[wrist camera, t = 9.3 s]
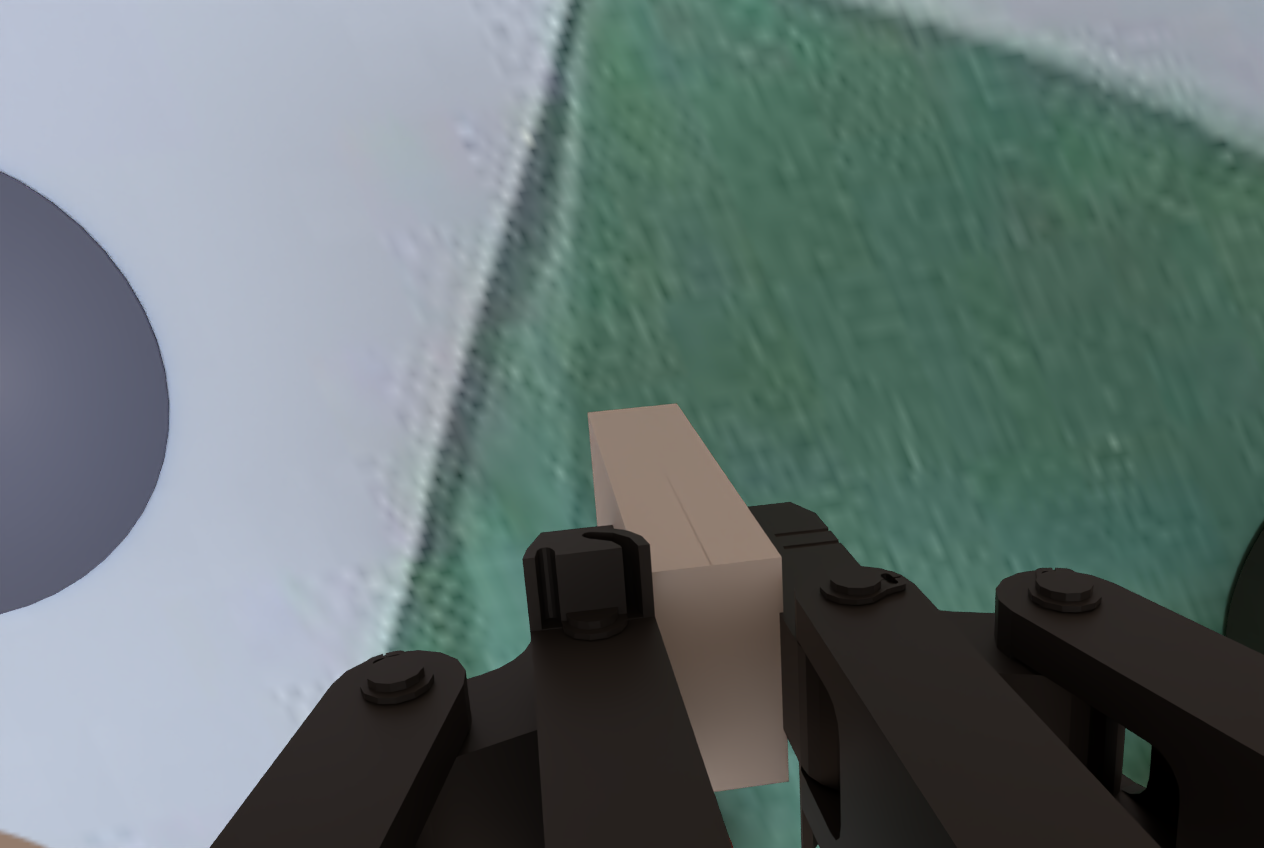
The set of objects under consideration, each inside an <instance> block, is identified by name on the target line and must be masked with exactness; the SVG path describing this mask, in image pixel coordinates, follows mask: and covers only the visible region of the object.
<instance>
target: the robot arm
mask: <svg viewBox="0 0 1264 848" xmlns="http://www.w3.org/2000/svg"><path fill="white" fill-rule="evenodd" d="M588 422H589V433H590V445H591V457H592V468H593V480H594V492H595V504H596V515H597V526H596V527H587V528H579V529H570V530H561V531H552V532H543V533H541V534H540V535H539V536H538V537H537V538H536V539H535V540H534V542H533V543H532V544H531V545H530V546H529V547H528V548H527V550H526V552H525V555H524V557H523V567H524V576H525V586H526V595H527V604H528V613H529V623H530V632H531V642H530V644H529V645H528V647H527V648H526V650H525V651H524V652H523V653H522V654H520V655H519V656H518V657H517V658H516V659H514V660H513V661H511V662H509V663H508V664H506V665H504V666H502V667H500V668H498V669H496V670H493V671H490V672H488V673H485V674H482V675H479V676H476V677H473V678H469V679H467V678H466V670H465V669H464V668H463V666H462V665H461V664H460V662H459V661H458V660H457V659H455V658H453V657H450V656H448V655H446V654H443V653H441V652H431V651H421V650H416V651H407V652H404V651H394V652H389V653H386V655H384V656H383V654H381V655H378V656H375V657H372V658H370V659H369V660H367V661H366V662H364V663H362V664H360V665H358V666H356V667H354V668H352V669H350V670H348V671H346V672H345V673H344V674H343V675H342V676H341V677H340V678H339V679H337V680H336V681H335V682H334V683H333V684H332V685H331V686H330V688H329V689H328V690H327V692H326V693H325V694H324V696H323V697H322V698H321V700H320V701H319V702H318V704H317V705H316V706H315V708H314V709H313V710H312V712H311V713H310V714H309V716H308V717H307V718H306V720H305V721H304V722H303V724H302V725H301V726H300V728H299V729H298V730H297V732H296V733H295V734H294V736H293V737H292V738H291V740H290V741H289V742H288V744H287V745H286V746H285V748H284V749H283V750H282V752H281V753H280V754H279V756H278V757H277V758H276V760H275V761H274V762H273V764H272V765H271V766H270V768H269V769H268V770H267V772H266V773H265V774H264V776H263V777H262V778H261V780H260V781H259V782H258V784H257V785H256V786H255V788H254V789H253V790H252V792H251V793H250V795H249V796H248V797H247V799H246V800H245V801H244V803H243V804H242V805H241V807H240V808H239V809H238V811H237V812H236V813H235V815H234V816H233V817H232V819H231V820H230V821H229V823H228V824H227V825H226V827H225V828H224V829H223V831H222V832H221V833H220V835H219V836H218V837H217V839H216V840H215V841H214V843H213V844H212V845H211V847H210V848H732V845H731V842H730V839H729V836H728V833H727V830H726V827H725V824H724V821H723V818H722V815H721V812H720V809H719V806H718V803H717V800H716V797H715V794H714V792H717V791H724V790H731V789H738V788H745V787H752V786H759V785H766V784H773V783H781V782H788V781H789V773H788V742H787V738H788V740H789V742H790V744H791V746H792V748H793V750H794V752H795V754H796V756H797V758H798V761H799V775H800V810H801V845H802V848H816V846H817V845H819V847H820V848H1264V529H1263V531H1262V532H1261V534H1260V536H1259V537H1258V539H1257V541H1256V542H1255V544H1254V546H1253V548H1252V550H1251V552H1250V554H1249V556H1248V557H1247V560H1246V562H1245V564H1244V566H1243V569H1242V571H1241V573H1240V576H1239V579H1238V582H1237V584H1236V587H1235V591H1234V594H1233V598H1232V601H1231V605H1230V610H1229V615H1228V621H1227V628H1226V637H1225V636H1223V635H1221V634H1219V633H1217V632H1215V631H1213V630H1211V629H1209V628H1206V627H1204V626H1202V625H1200V624H1198V623H1196V622H1194V621H1192V620H1190V619H1188V618H1186V617H1183V616H1181V615H1179V614H1177V613H1175V612H1173V611H1171V610H1169V609H1167V608H1165V607H1163V606H1160V605H1158V604H1156V603H1154V602H1152V601H1150V600H1148V599H1146V598H1144V597H1142V596H1140V595H1137V594H1135V593H1133V592H1131V591H1129V590H1127V589H1125V588H1123V587H1121V586H1119V585H1117V584H1114V583H1112V582H1109V581H1106V580H1104V579H1101V578H1098V577H1095V576H1092V575H1088V574H1082V573H1077V572H1074V571H1073V570H1071V569H1065V568H1055V570H1053V569H1052V568H1039V569H1037V570H1036V571H1029V572H1022V573H1017V574H1015V575H1012V576H1010V577H1008V578H1005V579H1003V580H1002V581H1001V583H1000V584H999V585H998V587H997V588H996V597H995V613H975V612H952V611H941V610H938V609H937V608H936V607H935V605H934V604H933V603H932V602H931V601H930V600H929V599H928V598H927V597H926V596H925V595H924V594H923V593H922V592H921V591H920V589H919V588H918V587H917V586H916V585H915V584H914V583H912V582H911V581H909V580H908V579H906V578H905V577H903V576H902V575H900V574H897V573H895V572H893V571H887V570H884V569H880V568H872V567H864V566H860V565H859V563H858V562H857V561H856V560H855V559H854V558H853V556H852V555H851V554H850V553H849V552H848V551H847V549H846V548H845V547H844V546H843V545H842V544H841V543H839V542H838V539H837V538H836V537H835V535H834V534H833V533H832V532H831V531H828V527H827V526H826V525H825V524H824V523H823V521H822V520H821V519H820V518H819V517H818V516H817V514H816V513H814V512H812V511H809V510H807V509H805V508H803V507H800V506H798V505H796V504H794V503H791V502H785V503H776V504H767V505H758V506H750V507H747V506H746V504H745V503H744V501H743V500H742V498H741V497H740V495H739V494H738V492H737V491H736V490H735V488H734V487H733V485H732V484H731V482H730V481H729V479H728V478H727V476H726V475H725V473H724V472H723V471H722V469H721V468H720V466H719V465H718V463H717V462H716V460H715V459H714V457H713V456H712V454H711V453H710V451H709V450H708V449H707V447H706V446H705V444H704V443H703V441H702V440H701V438H700V437H699V435H698V434H697V432H696V431H695V429H694V428H693V427H692V425H691V424H690V422H689V421H688V419H687V418H686V416H685V415H684V413H683V412H682V410H681V409H680V408H679V406H678V405H677V404H667V405H657V406H647V407H637V408H627V409H617V410H608V411H598V412H588ZM1125 728H1127V729H1128V730H1130V731H1131V732H1133V733H1135V734H1136V735H1138V736H1139V737H1141V738H1142V739H1144V740H1146V741H1147V742H1149V743H1150V744H1151V745H1152V751H1151V764H1150V776H1149V781H1148V784H1147V788H1145V787H1143V786H1141V785H1139V784H1136V783H1135V782H1133V781H1132V780H1130V779H1129V778H1128V777H1126V776H1125V775H1123V774H1122V767H1123V753H1124V740H1125Z"/></svg>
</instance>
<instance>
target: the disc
mask: <svg viewBox="0 0 1264 848" xmlns="http://www.w3.org/2000/svg"><path fill="white" fill-rule="evenodd" d="M168 411H169V400H168V392H167V385H166V377H165V370H164V366H163V363H162V359H161V355H160V352H159V348H158V345H157V341H156V338H155V336H154V333H153V331H152V329H151V326H150V324H149V321H148V319H147V317H146V314H145V312H144V310H143V308H142V306H141V304H140V303H139V301H138V299H137V297H136V296H135V294H134V292H133V291H132V289H131V287H130V285H129V284H128V282H127V280H126V279H125V278H124V276H123V275H122V274H121V272H120V271H119V270H118V268H117V267H116V266H115V264H114V263H113V262H112V260H111V259H110V258H109V256H108V255H107V254H106V252H105V251H104V250H103V249H102V248H101V247H100V246H99V245H98V244H97V243H96V242H95V241H94V240H93V239H92V238H91V237H90V236H89V235H88V234H87V233H86V231H85V230H84V229H83V228H82V227H81V226H80V225H78V224H77V223H76V222H75V221H74V220H72V219H71V218H70V217H69V216H68V215H66V214H65V213H64V212H63V211H62V210H60V209H59V208H58V207H57V206H55V205H54V204H53V203H52V202H50V201H49V200H47V199H46V198H44V197H43V196H41V195H40V194H38V193H37V192H35V191H33V190H32V189H30V188H29V187H27V186H26V185H24V184H23V183H21V182H20V181H18V180H16V179H14V178H12V177H10V176H8V175H6V174H4V173H2V172H0V614H2V613H6V612H9V611H12V610H16V609H19V608H22V607H26V606H29V605H31V604H33V603H36V602H38V601H40V600H43V599H45V598H47V597H49V596H52V595H54V594H56V593H58V592H60V591H61V590H63V589H65V588H66V587H68V586H69V585H71V584H73V583H74V582H76V581H78V580H79V579H81V578H82V577H84V576H85V575H86V574H87V573H89V572H90V571H91V570H92V569H94V568H95V567H96V566H97V565H98V564H100V563H101V562H102V561H103V560H105V559H106V558H107V557H108V555H109V554H110V553H111V552H112V551H113V550H114V549H115V548H116V547H117V546H118V545H119V544H120V542H121V541H122V540H123V539H124V538H125V537H126V536H127V535H128V533H129V532H130V530H131V529H132V527H133V526H134V524H135V523H136V521H137V520H138V519H139V517H140V516H141V514H142V513H143V511H144V509H145V507H146V505H147V503H148V501H149V499H150V496H151V494H152V492H153V490H154V488H155V486H156V483H157V479H158V476H159V473H160V470H161V467H162V464H163V460H164V455H165V449H166V442H167V436H168Z"/></svg>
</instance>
